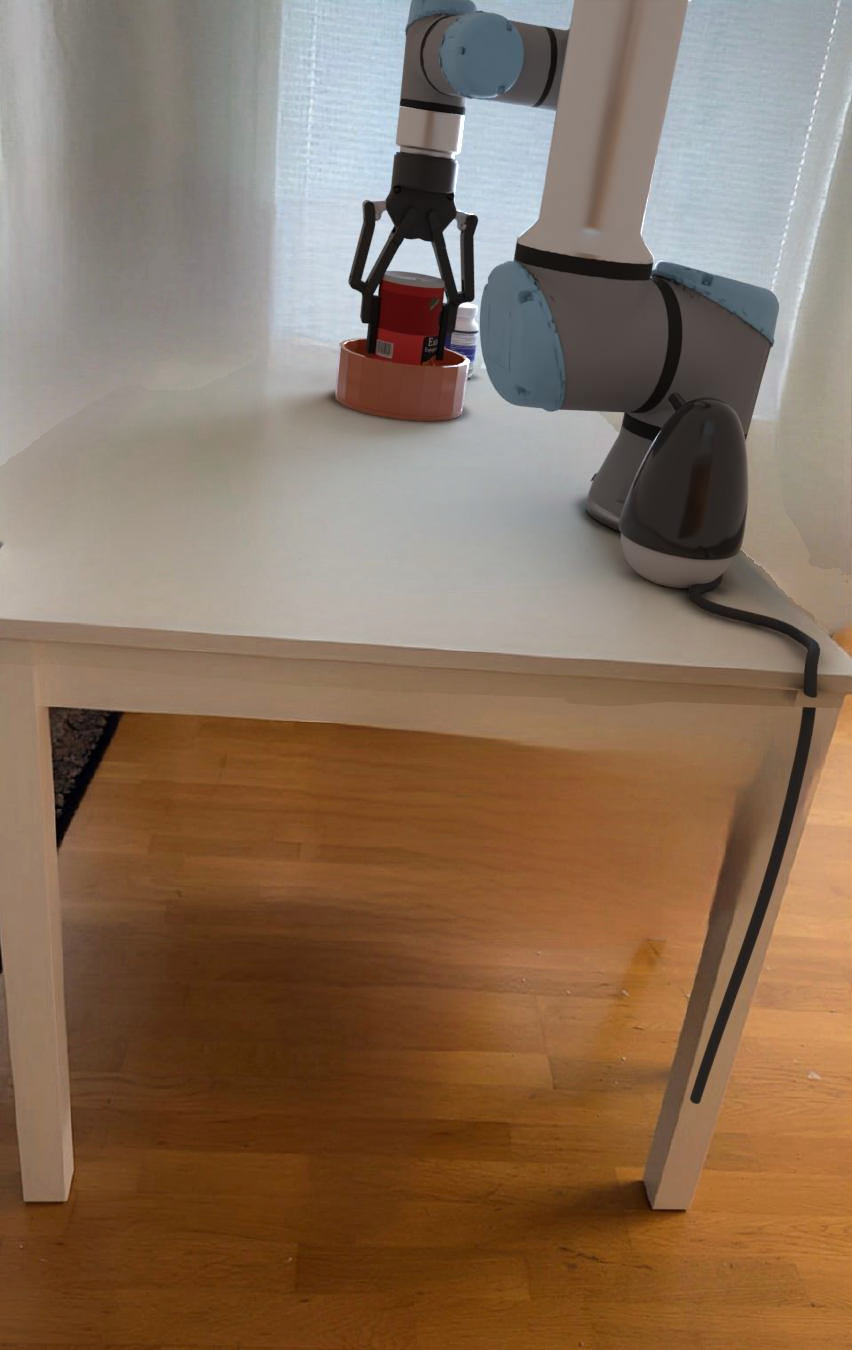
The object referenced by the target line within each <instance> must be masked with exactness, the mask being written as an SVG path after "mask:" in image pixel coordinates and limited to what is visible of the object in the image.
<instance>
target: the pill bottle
mask: <svg viewBox="0 0 852 1350" xmlns="http://www.w3.org/2000/svg"><path fill="white" fill-rule="evenodd" d="M445 303H447V301H446V302H445ZM478 312H479V306H478V305H476V304H473V303H471V302H466V303H462V304H461V305H459V307H458V311H457V318H456V326H455V330H454V332H453V333H451V332H446V339H445V347H444V348H445V349H449V350H452V351H455V352H458V353H460V354H462V355H464V356H466V357H467V358H468V359H469V360H470V362H469V370H468V377H467V379H468V378H471V377H472V375H473V373H474V365H475V359H476V351H477V343H478V336H479V330H480V327H479V324H478V323H477V322H476V319H475V318H476V317H477V316H478Z"/></svg>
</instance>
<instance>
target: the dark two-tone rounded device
mask: <svg viewBox="0 0 852 1350" xmlns="http://www.w3.org/2000/svg"><path fill="white" fill-rule="evenodd" d="M668 402H669V404H670V406H671V407H672V409H673V411H674V414H673V415H672V416H671V417H670V418H669V419H668V421H667V422H666V423H665V425H664V426H663V427H662V429H661V430H660V432H659V433H658V435H657V436H656V438H655V439H654V441H653V443H652V444H651V446H650V448H649V450H648V452H647V453H646V455H645V457H644V459H643V461H642V463H641V465H640V467H639V469H638V471H637V473H636V475H635V477H634V480H633V482H632V484H631V487H630V489H629V492H628V495H627V497H626V500H625V503H624V506H623V509H622V512H621V515H620V519H619V525H618V527H619V530H620V531H619V533H620V544H621V549H622V552H623V555H624V558H625V560H626V562H627V563H628V565H629V566H630V567H631V568H632V570H633V571H634V572H635V573H637V574H638V575H639V576H640V577H642V578H644V579H645V580H647V581H649V582H651V583H653V584H656V585H660V586H662V587H668V588H673V589H689V588H690V587H692V586H693V585H695V584H705V583H709V582H712V581H713V580H715V579H716V578H718V577H719V576H720V575H721V574H723V573H725V571H726V570H727V569H728V567H729V566H730V565H731V563H732V561H733V560H734V558H735V556H737V555H738V554H739V553H740V551H741V549H742V547H743V542H744V537H745V532H746V524H747V517H748V516H747V515H748V504H749V462H748V461H749V460H748V450H747V443H746V442H747V441H746V442H745V437H744V432H743V429H742V426H741V423H740V420H739V417H738V415H737V414H736V412H735V411H734V409H733V408H732V407H731V406H729V405H728V404H727V403H725V402H724V401H722V400H719V399H717V398H712V397H701V398H696V399H693V400H691V401H688V402H686V401H685V400H684V399H683V398H682V396H681V395H680V394H679V393H672V394H671V395H670V396H669V398H668Z"/></svg>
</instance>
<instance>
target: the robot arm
mask: <svg viewBox="0 0 852 1350" xmlns="http://www.w3.org/2000/svg"><path fill="white" fill-rule="evenodd" d="M692 2H693V0H573V5H572V10H571V18H570V24H569V28H568V29H561V28H554V27H549V26H544V25H538V24H537V25H536V24H531V23H526V22H521V21H516V20H511V19H508V18H507V17H505V16H504V15H502V14H500V13H495V12H488V11H487V12H486V11H483V10H478V8H477V6H476V4H475V2H474V1H473V0H411V1H410V5H409V12H408V17H407V23H406V26H405V29H404V32H405V35H404V36H405V44H404V54H403V55H404V56H403V65H402V75H401V86H400V97H399V99H400V100H399V108H398V118H397V127H396V137H395V145H396V146H398V147H399V148H400V149H399V151H396V152H395V154H394V155H393V163H392V171H391V173H392V174H391V182H390V183H391V184H390V190H389V193H388V195H387V197H386V198H385V200H374V201H373V200H372V201H371V200H369V199H365V200H363V202H362V205H361V207H362V219H363V221H362V225H361V229H360V233H359V236H358V240H357V245H356V248H355V252H354V256H353V260H352V265H351V267H350V272H349V276H348V279H347V283H348V285H349V286H350V288H351V289H352V290H355V291H357V292H359V293H360V294H361V302H360V303H361V304H360V314H359V317H360V321H361V323H362V324H366V325H367V332H366V338H367V341H366V350H367V352H368V353H370V354H374V349H375V340H376V330H377V320H378V310H379V300H380V299H379V297H378V294H375V292H376V291H377V289H378V288H379V283H380V282H381V280H382V278H383V276H384V274H385V272H386V271H388V269H389V267H390V265H391V263H392V261H393V259H394V257H395V256H396V253H397V252H398V250H399V249H400V246H401V245H402V243H403V242H404V240H411V241H412V240H413V241H414V240H416V239H417V240H418V239H419V240H421V241H423V242H427V243H428V242H429V243H431V247H432V250H433V252H434V253H433V254H434V257H435V261H436V266H437V268H438V272H439V276H440V279H442V280H444V282H445V290H444V296H445V298H446V302H447V303H446V302H443V307H442V314H441V322H440V329H439V337H438V345H437V352H436V360H440V361H443V355H444V347H445V339H446V332H451V333H453V332H454V330H455V326H456V318H457V311H458V307H459V305H461V304H462V303H472V302H474V300H475V298H476V297H475V295H476V293H475V292H476V291H475V288H476V287H475V249H474V248H475V245H474V244H475V242H474V241H475V237H474V236H475V233H476V229H477V226H478V223H479V217H478V216H477V215H476V214H474V213H472V212H468V213H467V212H464V211H461V210H459V209H458V208H457V205H456V201H455V196H456V189H457V188H456V187H457V181H458V173H459V162H458V160H457V159H456V155H459V154H460V153H461V150H462V142H463V141H462V140H463V131H464V124H465V123H464V122H465V116H466V110H467V109H466V108H467V102H468V100H467V99H470V100H473V99H474V100H475V99H476V100H478V101H479V100H481V101H488V102H494V103H501V104H507V105H513V106H520V107H521V106H522V107H528V108H536V109H542V110H548V111H552V112H555V114H554V115H555V116H554V122H553V127H552V128H553V129H552V133H551V140H550V147H549V152H548V159H547V165H546V171H545V177H544V183H543V190H542V196H541V201H540V208H539V214H538V218H537V219H536V220H535V221H534V223H533V224H532V225H530V226H529V227H528V228H526V230H524V231H523V232H522V233H520V234H519V236H517V237H516V242H515V250H514V256H513V257H514V258H513V260H507V261H504V262H502V263H500V264H498V265H496V266H495V267H493V269H492V270H491V271H490V272H489V274H488V277H487V283H486V284H485V285H484V287H483V291H482V295H481V300H480V307H479V339H480V340H479V341H480V349H481V355H482V359H483V362H484V365H485V369H486V373H487V376H488V378H489V380H490V383H491V384H492V386H493V387H494V390H495V391H496V393H497V394H498V395H499V396H500V397H501V398H502V399H503V400H504V401H506V402H507V403H509V404H510V405H513V406H518V407H524V408H534V409H542V410H544V411H546V412H550V413H551V412H552V413H553V412H557V411H559V410H560V411H579V412H582V411H583V412H584V411H585V412H600V413H601V412H606V413H623V417H622V421H621V426H620V430H619V433H618V435H617V438H616V440H615V441H614V443H613V445H612V446H611V448H610V450H609V452H608V454H607V455H606V456H605V458H604V461H603V463H602V464H601V466H600V468H599V470H598V471H597V473H594V474H593V476H592V478H591V479H590V481H589V482H590V483H591V484H590V487H589V489H588V492H587V498H586V503H585V509H586V512H587V513H588V514H589V515H590V516H591V517H592V518H593V519H595V520H596V521H597V522H599V523H601V524H603V525H605V526H607V527H608V528H610V529H613V530H615V531H617V532H620V530H619V527H618V525H619V519H620V515H621V512H622V509H623V506H624V503H625V500H626V497H627V495H628V492H629V489H630V487H631V484H632V482H633V480H634V477H635V475H636V473H637V471H638V469H639V467H640V465H641V463H642V461H643V459H644V457H645V455H646V453H647V452H648V450H649V448H650V446H651V444H652V443H653V441H654V439H655V438H656V436H657V435H658V433H659V432H660V430H661V429H662V427H663V426H664V425H665V423H666V422H667V421H668V419H669V418H670V417H671V416H672V415H673V414H674V411H673V409H672V407H671V406H670V404H669V402H668V398H669V396H670V395H671V394H672V393H679V394H680V395H681V396H682V398H683V399H684V400H685V401H686V402H688V401H691V400H693V399H696V398H701V397H712V398H717V399H719V400H722V401H724V402H725V403H727V404H728V405H729V406H731V407H732V408H733V409H734V411H735V412H736V414H737V415H738V417H739V420H740V423H741V426H742V429H743V432H744V437H745V442H747V439H748V435H749V430H750V427H751V423H752V419H753V415H754V411H755V409H756V408H755V407H756V404H757V400H758V396H759V392H760V388H761V385H762V380H763V377H764V373H765V371H766V366H767V363H768V359H769V356H770V352H771V349H772V348H773V347H774V344H775V338H774V337H775V333H776V326H777V322H778V316H779V311H780V304H779V301H778V298H777V296H776V295H775V293H774V292H773V291H771V290H770V289H768V288H764V287H762V286H759V285H755V284H751V283H747V282H744V281H741V280H736V279H733V278H729V277H725V276H723V275H719V274H715V273H712V272H709V271H705V270H700V269H697V268H694V267H690V266H686V265H683V264H679V263H675V262H672V261H668V260H664V259H661V260H658V261H657V262H656V263H655V264H654V262H655V256H654V255H653V254H652V252H651V250H650V249H649V247H648V246H647V244H646V242H645V240H644V238H643V235H642V232H643V227H644V221H645V218H646V217H645V216H646V211H647V207H648V202H649V196H650V193H651V186H652V182H653V178H654V173H655V172H654V171H655V167H656V163H657V157H658V152H659V149H660V142H661V138H662V133H663V128H664V123H665V119H666V113H667V108H668V105H669V104H668V103H669V98H670V94H671V88H672V84H673V80H674V75H675V69H676V64H677V60H678V55H679V51H680V45H681V40H682V36H683V32H684V31H683V30H684V25H685V21H686V16H687V11H688V10H687V9H688V6H689V5H690V4H691V3H692ZM385 211H386V212H387V214H388V216H389V218H390V220H391V222H392V224H393V227H392V229H391V231H390V233H389V235H388V237H387V240H386V241H385V243H384V246H383V248H382V249H381V251H380V253H379V255H378V257H377V259H376V260H375V262H374V264H373V266H372V268H371V270H370V272H369V274H368V276H367V278H366V280H365V281H364V280H362V279H363V276H364V271H365V268H366V263H367V260H368V256H369V254H370V253H369V252H370V249H371V244H372V241H373V237H374V233H375V228H376V222H378V221H380V220H381V218H382V214H383V213H384V212H385ZM454 220H455V221H456V228H457V230H458V231H460V233H459V251H460V255H459V256H460V290H459V291H458V289H457V285H456V280H455V278H454V273H453V269H452V267H451V261H450V257H449V254H448V249H447V243H446V240H445V236H444V232H445V230H446V229H447V228H448V227H449V226H450V225H451V223H452V222H453V221H454ZM723 575H724V574H723V573H722V574H721V575H720V576H719V577H718V578H716V579H715V580H713V581H712V582H709V583H705V584H695V585H693V586H692V587H690V588H688V591H687V597H688V599H689V601H690V602H691V603H692V604H693V605H695V606H696V607H698V608H699V609H701V610H703V611H705V612H708V613H710V614H713V615H717V616H719V617H722V618H727V619H731V620H735V621H738V622H739V621H740V622H743V623H748V624H751V625H755V626H758V627H763V628H766V629H771V630H772V631H776V632H779V633H781V634H783V635H785V636H787V637H789V638H791V639H792V640H794V641H795V642H797V643H798V644H800V645H801V646H803V647H804V648H805V649H806V656H805V661H804V671H803V693H804V695H805V696H807V697H809V698H811V699H815V698H817V696H818V668H819V667H818V666H819V660H820V653H821V648H820V644H819V642H818V641H816V639H814V638H813V637H811V636H810V635H808V634H807V633H805V632H803V631H802V630H801V629H799V628H797V627H796V626H794V625H792V624H790V623H788V622H785V621H783V620H781V619H778V618H774V617H770V616H767V615H763V614H760V613H756V612H751V611H747V610H743V609H739V608H734V607H731V606H727V605H723V604H720V603H717V602H715V601H711V600H709V599H707V598H705V597H704V596H702V595H701V594H703V593H705V592H709V591H711V590H713V589H715V588H717V587H718V586H720V585H721V583H722V582H723V577H724V576H723ZM801 710H802V711H801V718H800V719H801V720H800V725H799V726H800V727H799V732H798V738H797V743H796V747H795V753H794V757H793V762H792V768H791V772H790V776H789V781H788V785H787V790H786V792H785V793H786V794H785V798H784V802H783V807H782V810H781V813H780V817H779V822H778V826H777V830H776V833H775V838H774V841H773V845H772V848H771V852H770V856H769V859H768V863H767V866H766V870H765V872H764V876H763V879H762V883H761V886H760V888H759V889H760V890H759V892H758V895H757V899H756V901H755V905H754V908H753V911H752V913H751V917H750V921H749V923H748V926H747V929H746V933H745V935H744V938H743V941H742V944H741V947H740V950H739V953H738V956H737V959H736V962H735V964H734V967H733V970H732V973H731V976H730V979H729V981H728V984H727V987H726V989H725V993H724V995H723V998H722V1000H721V1004H720V1007H719V1010H718V1012H717V1014H716V1018H715V1020H714V1024H713V1027H712V1029H711V1033H710V1035H709V1038H708V1041H707V1045H706V1047H705V1051H704V1052H703V1057H702V1059H701V1063H700V1065H699V1068H698V1072H697V1075H696V1077H695V1081H694V1084H693V1086H692V1090H691V1093H690V1097H689V1101H690V1102H691V1103H692V1104H695V1105H699V1104H700V1103H701V1101H702V1098H703V1095H704V1092H705V1089H706V1085H707V1082H708V1079H709V1077H710V1073H711V1070H712V1067H713V1065H714V1061H715V1060H716V1059H715V1058H716V1056H717V1053H718V1049H719V1047H720V1045H721V1041H722V1039H723V1035H724V1033H725V1030H726V1027H727V1024H728V1022H729V1019H730V1015H731V1013H732V1010H733V1008H734V1005H735V1003H736V1000H737V997H738V993H739V991H740V988H741V986H742V983H743V980H744V976H745V974H746V971H747V969H748V966H749V963H750V961H751V957H752V955H753V952H754V949H755V947H756V942H757V940H758V937H759V934H760V931H761V929H762V926H763V923H764V920H765V916H766V914H767V911H768V908H769V904H770V901H771V898H772V896H773V892H774V889H775V886H776V882H777V879H778V876H779V873H780V870H781V866H782V862H783V859H784V855H785V853H786V852H785V851H786V848H787V845H788V841H789V838H790V833H791V830H792V826H793V822H794V819H795V814H796V811H797V808H798V807H797V806H798V802H799V799H800V794H801V789H802V786H803V781H804V776H805V773H806V769H807V768H806V767H807V765H808V764H807V762H808V759H809V753H810V750H811V749H810V748H811V743H812V738H813V732H814V726H815V720H816V711H817V707H815V706H814V707H811V706H810V707H809V706H803V707H802V709H801Z"/></svg>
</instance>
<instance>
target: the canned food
mask: <svg viewBox="0 0 852 1350" xmlns="http://www.w3.org/2000/svg"><path fill="white" fill-rule="evenodd" d="M444 290H445V282H444V280H442V279H441V277H437V276H433V275H429V274H423V273H418V272H410V271H400V270H386V272H385V274H384V276H383V278H382V280H381V282H380V283H379V285H378V291H377V296H378V297H379V299H380V300H379V310H378V320H377V330H376V340H375V349H374V354H372V358H375V359H379V360H384V361H390V362H396V363H403V364H413V365H423V366H435V360H436V352H437V345H438V337H439V329H440V322H441V314H442V307H443V303H444V300H445V299H444V298H445V291H444Z"/></svg>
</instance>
